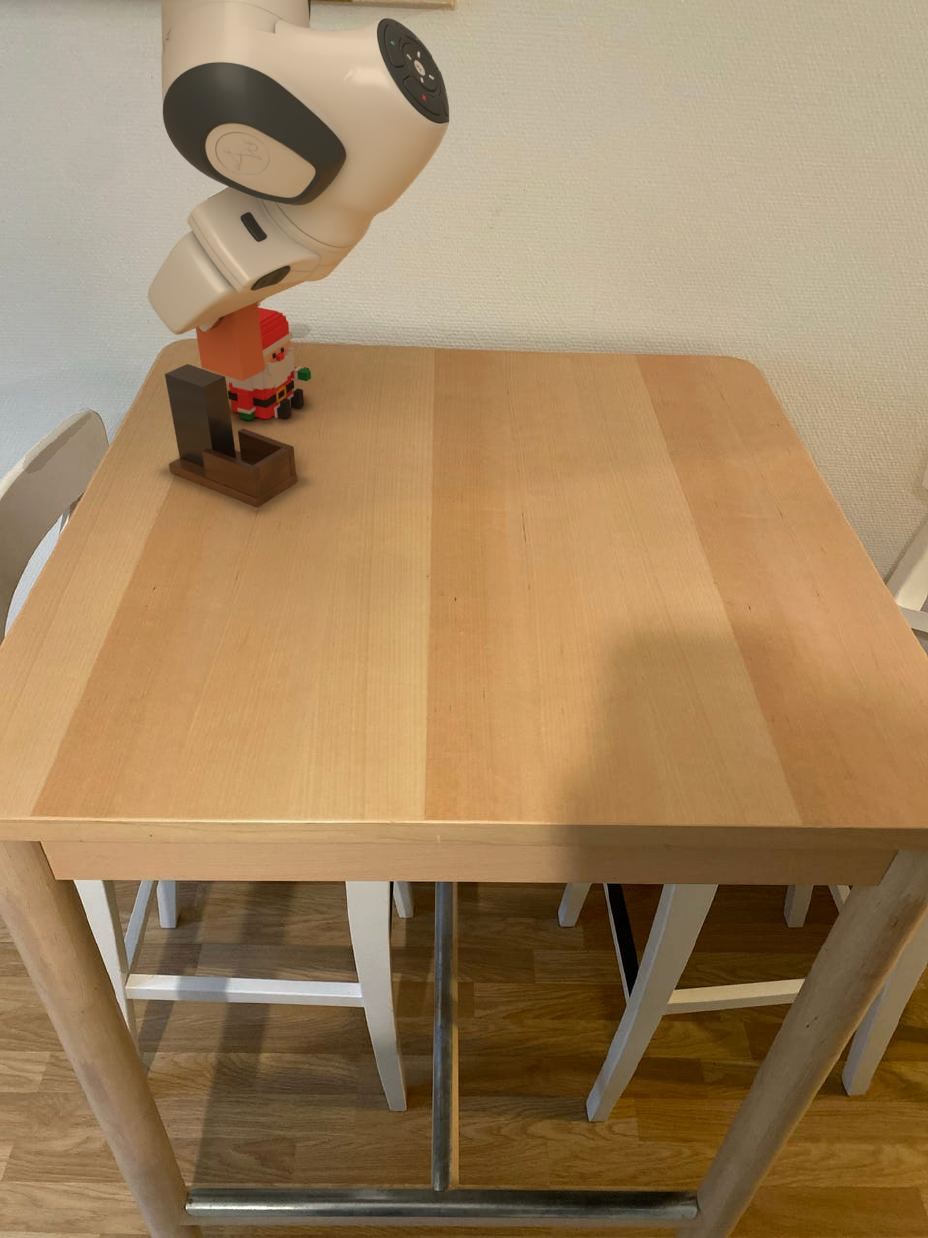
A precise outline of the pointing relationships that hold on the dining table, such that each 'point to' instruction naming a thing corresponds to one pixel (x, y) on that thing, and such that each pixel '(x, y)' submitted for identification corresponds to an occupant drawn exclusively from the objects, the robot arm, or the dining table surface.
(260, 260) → the robot arm
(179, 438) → the mount
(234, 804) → the dining table surface
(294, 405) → the figurine
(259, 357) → the orange rectangular block
